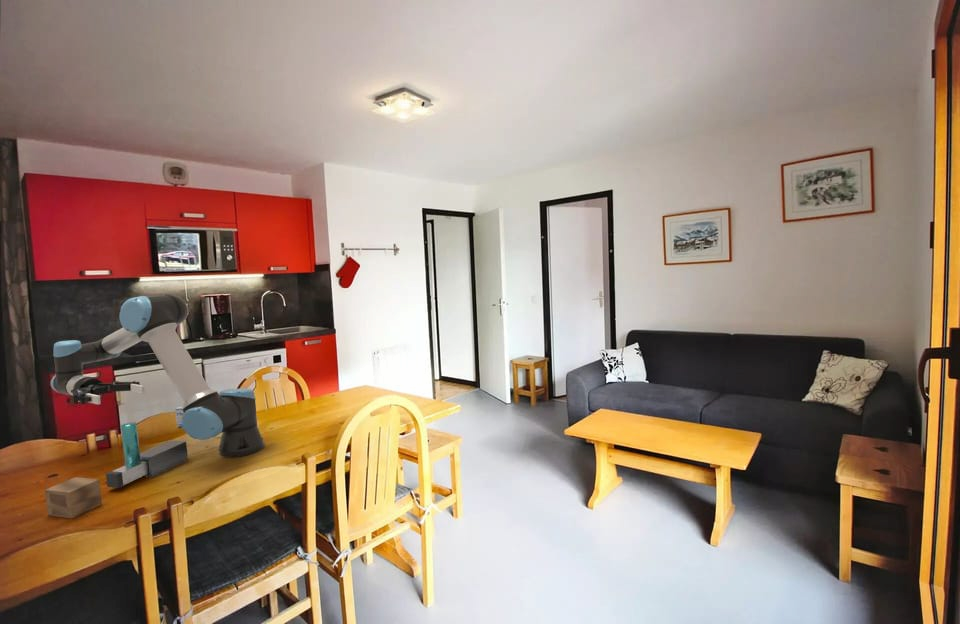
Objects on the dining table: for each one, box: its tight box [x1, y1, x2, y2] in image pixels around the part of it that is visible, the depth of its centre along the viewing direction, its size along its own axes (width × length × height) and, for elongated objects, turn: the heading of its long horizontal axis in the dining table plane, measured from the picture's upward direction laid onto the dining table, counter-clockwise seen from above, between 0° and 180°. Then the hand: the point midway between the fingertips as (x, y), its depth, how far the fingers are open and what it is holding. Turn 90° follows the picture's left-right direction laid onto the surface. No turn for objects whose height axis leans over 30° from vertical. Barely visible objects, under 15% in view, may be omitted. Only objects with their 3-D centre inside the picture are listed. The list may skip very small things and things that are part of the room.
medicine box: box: [174, 405, 184, 429], centre depth 206 cm, size 8×4×9 cm, turn 99°
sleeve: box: [140, 440, 189, 478], centre depth 161 cm, size 14×7×7 cm, turn 166°
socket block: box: [44, 476, 103, 519], centre depth 134 cm, size 8×9×8 cm
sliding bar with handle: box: [105, 421, 149, 489], centre depth 155 cm, size 23×4×18 cm, turn 166°
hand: (122, 394), depth 158 cm, fingers open, 13 cm apart
